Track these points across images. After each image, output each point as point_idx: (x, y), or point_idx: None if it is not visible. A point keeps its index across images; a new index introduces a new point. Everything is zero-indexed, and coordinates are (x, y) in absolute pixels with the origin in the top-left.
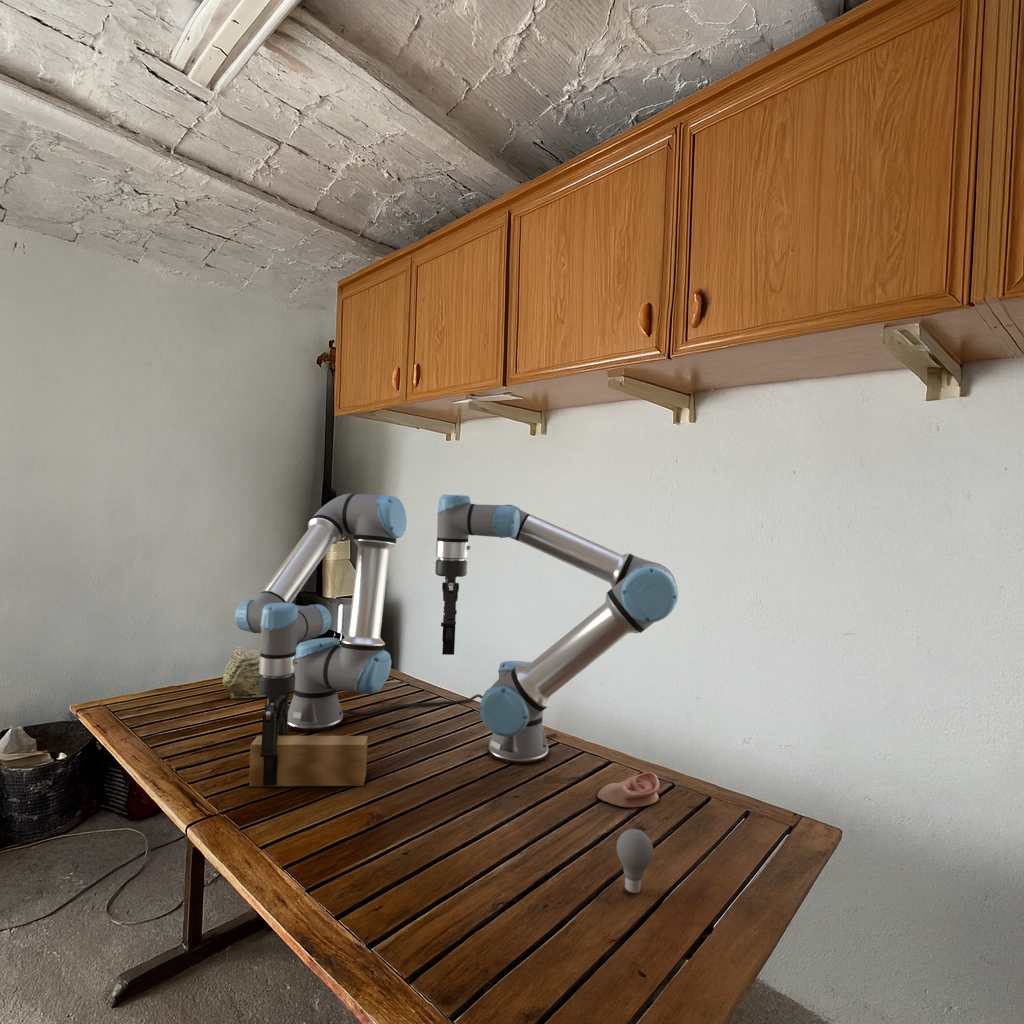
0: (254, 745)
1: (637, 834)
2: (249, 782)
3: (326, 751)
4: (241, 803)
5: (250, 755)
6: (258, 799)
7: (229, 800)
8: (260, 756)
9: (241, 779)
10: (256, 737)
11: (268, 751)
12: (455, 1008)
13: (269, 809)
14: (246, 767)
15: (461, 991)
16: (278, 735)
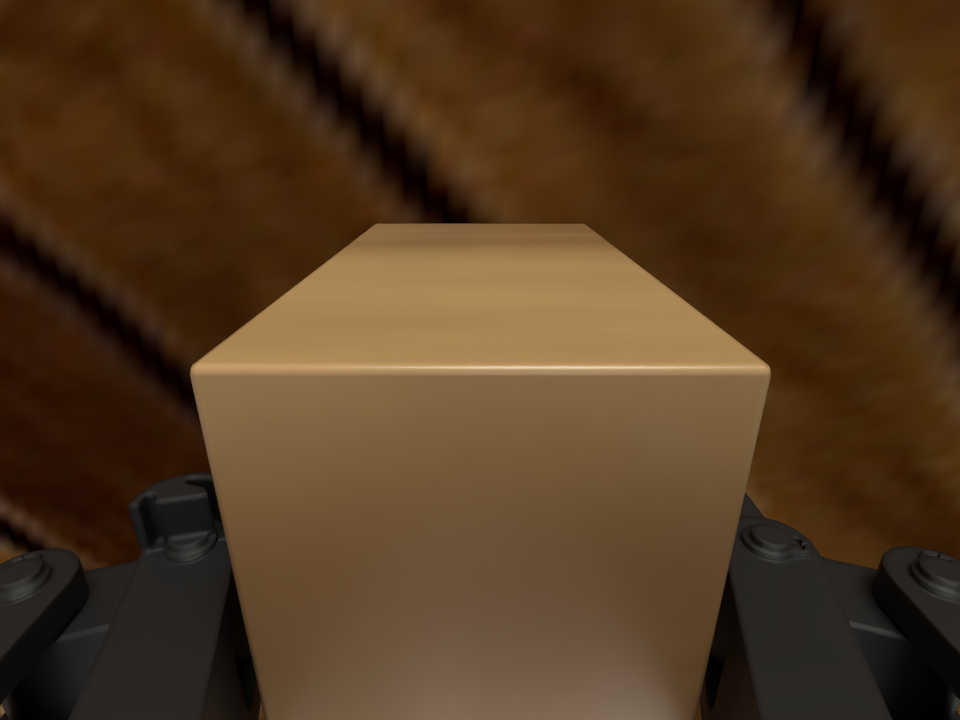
0: (215, 431)
1: None
2: (370, 228)
3: None
4: (79, 250)
5: (285, 295)
6: (170, 356)
7: (103, 129)
8: (178, 480)
9: (524, 102)
10: (642, 372)
11: (10, 699)
12: None
13: (48, 461)
14: (807, 62)
15: None
16: (725, 700)
